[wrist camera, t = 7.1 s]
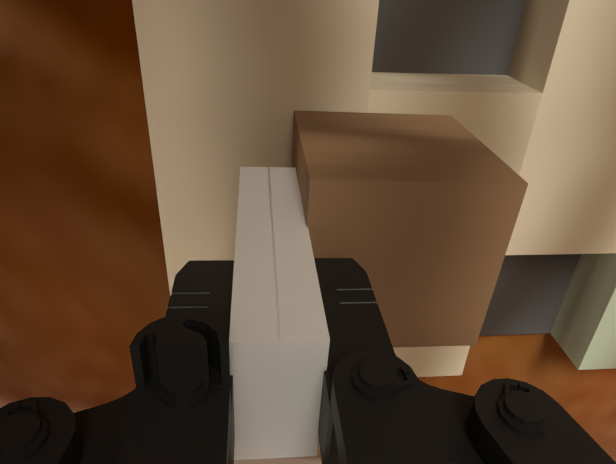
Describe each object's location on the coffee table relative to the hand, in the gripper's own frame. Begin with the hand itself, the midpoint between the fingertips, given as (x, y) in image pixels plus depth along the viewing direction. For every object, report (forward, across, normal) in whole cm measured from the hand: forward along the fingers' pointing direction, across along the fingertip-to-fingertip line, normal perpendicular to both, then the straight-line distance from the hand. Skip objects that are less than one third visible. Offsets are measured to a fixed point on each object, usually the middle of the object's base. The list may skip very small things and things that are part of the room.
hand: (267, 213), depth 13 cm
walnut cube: (+1, +3, 0) cm, 3 cm away
